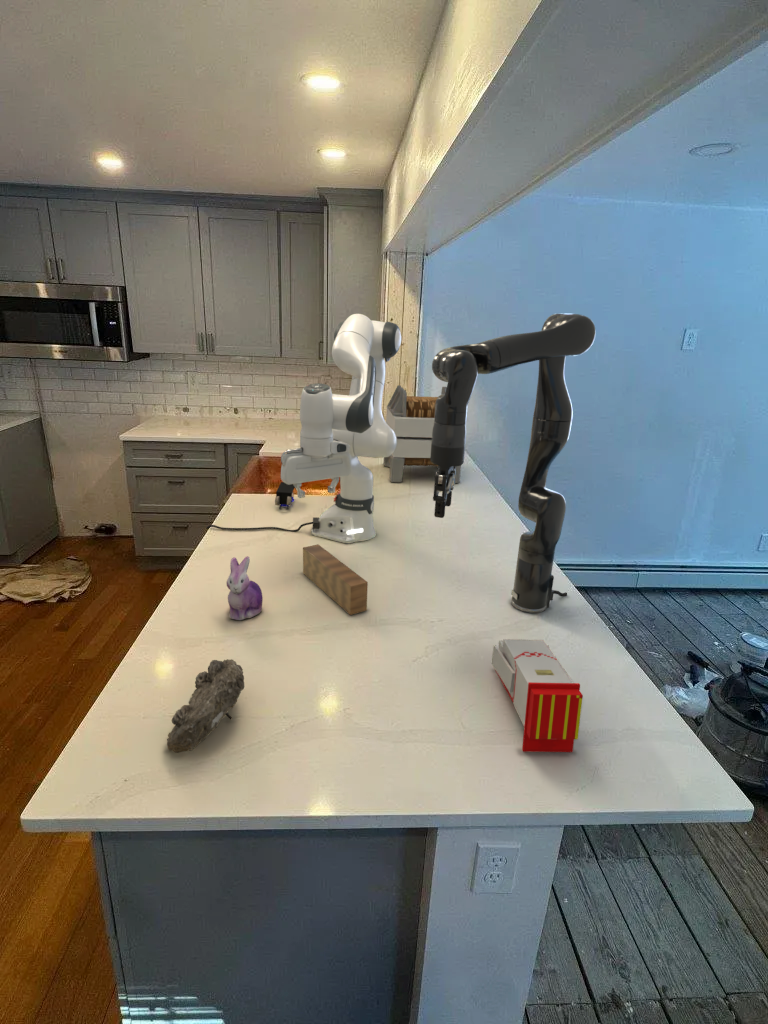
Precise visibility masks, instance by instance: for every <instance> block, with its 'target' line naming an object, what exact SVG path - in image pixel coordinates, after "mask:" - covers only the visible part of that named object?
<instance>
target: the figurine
mask: <svg viewBox="0 0 768 1024" xmlns="http://www.w3.org/2000/svg"><path fill="white" fill-rule="evenodd" d="M250 559H251V558H250V556H248V555H246V556H245V557H244V558H243V559H242V561H240V563H239V561H238V559H237V557H235V556H234V557H231V559H230V565H229V567H230V573H229V575H228V577H227V580H226V587H227V588H228V590H229V592H228V594H227V602H228V606H229V619H232V620H235V621H243V620H245V619H251V618H254V617H255V616H256V615H258V614H260V613H261V612H262V609H263V598H264V597H263V592H262V589H261V586H260V585H259V584H258V583H257V582H255V581H253V580H250V577H249V576H248V574H247V572H248V569H249V566H250V562H251V561H250Z"/></svg>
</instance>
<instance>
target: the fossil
mask: <svg viewBox="0 0 768 1024" xmlns="http://www.w3.org/2000/svg"><path fill="white" fill-rule="evenodd" d="M243 670H244V669H243V667H242V665H240V664H237V662H236V661H235V660H234V659H232V658H231V659H227V658H226V659H224V660H223V661H222V660H217V659H212V660H211V661H210V663H209V665H208V666H207V671H201V672H199V673H198V674H197V675H196V676H195V680H194V684H195V685H194V687H195V689H194V690H193V693H192V694H191V697H190V698H189V700H188V704H184V705H182V706H181V707H180V709H177V710H176V711H175V713H174V715H173V716H172V718H171V723H172V724H173V727H172V730H171V731H170V732H168V734H167V738H166V741H167V742H166V745H167V749H168V750H169V751H173V752H174V753H176V754H178V753H182V752H188V751H189V752H192V751H193V750H195V748H196V747H197V746H199V744H200V743H201V742H203V741H204V740H205V739H206V738H207V737H208V736H209V735H210V734H211V733H212V732H214V730H215V729H217V727H218V726H219V724H220V722H221V721H222V720H223V719H224V718H225V716H226V717H227V719H229V720H233V717H232V715H230V714H229V710H230V709H231V708H234V706H235V704H236V703H237V702H238V699H239V697H240V695H241V693H242V691H243V690H245V689H244V688H245V675H244V671H243Z"/></svg>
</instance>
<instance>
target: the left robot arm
mask: <svg viewBox="0 0 768 1024" xmlns="http://www.w3.org/2000/svg"><path fill="white" fill-rule="evenodd" d="M401 345H402V333H401V329H400V327H399V325H398V324H396V323H394V322H391V321H380V320H372V319H370V318H369V316H367V315H365V314H362V313H353V314H350V315H349V316H348V317H347V318H345V320H343V321H341V322H339V323H338V324H337V325H336V326H335V328H334V332H333V344H332V348H331V358H332V360H333V363H334V364H335V366H336V367H337V368H338V369H339V370H340V371H341V372H343V373H345V374H346V375H349V376H351V381H350V387H349V393H348V394H338V393H333V392H332V387H331V386H330V385H328V384H327V383H310V384H307V385H305V386H304V387H303V388H302V390H301V395H300V404H299V421H300V424H301V427H300V428H301V429H300V432H299V447H297V448H288V449H286V450H285V451H284V452H283V453H282V454H281V455H280V463H281V468H280V480H281V482H284V483H286V484H288V485H290V484H293V485H294V487H295V488H294V489H295V490H296V493H297V494H296V495H297V498H298V499H304V498H306V491H305V490H303V489H301V487H302V485H303V483H309V482H310V483H311V482H315V481H316V482H317V481H323V480H331V482H330V485H327V493H328V494H334V493H336V487H337V485H338V483H340V484H339V485H340V488H339V489H340V490H339V491H338V492H337V494H336V495H335V496H334V497H333V502H334V504H333V505H331V506H329V507H328V508H326V509H325V510H323V512H321V514H320V515H319V517H312V521H310V522H304V523H302V524H300V525H299V527H298V528H296V529H288V528H282V527H278V526H262V527H261V526H260V527H223V526H218V525H215V524H210V525H208V526H206V528H205V529H206V530H208V529H210V528H216V529H219V530H223V531H258V530H278V531H283V532H292V533H293V532H294V533H296V532H299V531H301V528H303V527H305V526H309V525H312V528H311V530H310V533H311V536H315V537H319V538H323V539H326V540H330V541H336V542H339V543H343V544H352V543H357V542H365V541H368V540H372V539H373V538H375V537H376V535H377V532H376V528H375V523H374V513H373V512H374V509H375V496H374V474H373V472H372V471H371V469H369V467H367V466H365V465H364V464H363V463H362V462H361V461H360V460H359V458H358V457H360V458H370V459H384V457H389V456H390V455H391V454H392V453H393V452H394V450H395V448H396V445H397V438H396V435H395V433H394V431H393V430H392V429H391V428H390V427H389V426H388V424H387V423H386V419H385V417H384V415H383V411H382V405H383V396H384V389H385V383H386V363H388V362H390V360H391V358H393V357H395V356H396V355H397V353H398V352H399V350H400V347H401Z"/></svg>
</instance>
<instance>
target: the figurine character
mask: <svg viewBox="0 0 768 1024" xmlns="http://www.w3.org/2000/svg"><path fill="white" fill-rule="evenodd" d="M295 489H296V488H295V487H294V485H293V484H290V485H288V484H286V483H284V482H283V481H280V483H279V486H278V487H277V490H276V491H275V497H274V498H275V499H274V506H278V509H279V510H282V507H285V508H286V510H288V509H289V507H290V506H292V503H294V502H295V499H294V497H295V493H294V490H295Z"/></svg>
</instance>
